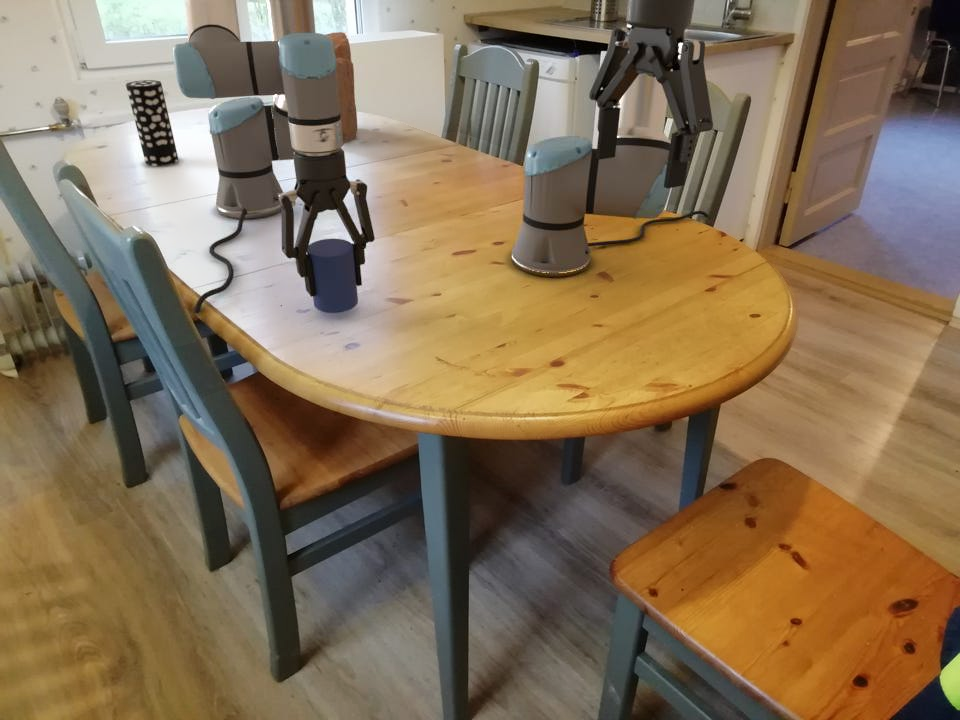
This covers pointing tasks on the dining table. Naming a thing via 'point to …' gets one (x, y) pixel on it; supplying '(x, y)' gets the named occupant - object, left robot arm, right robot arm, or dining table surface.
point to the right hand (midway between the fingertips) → (637, 171)
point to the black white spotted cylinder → (152, 122)
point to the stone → (345, 85)
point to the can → (333, 275)
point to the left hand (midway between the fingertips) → (334, 287)
